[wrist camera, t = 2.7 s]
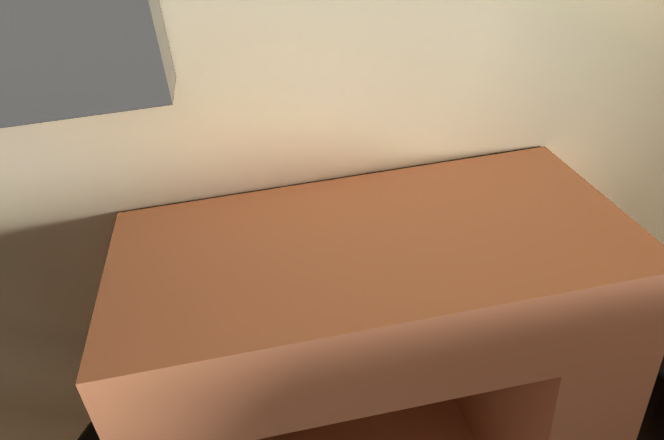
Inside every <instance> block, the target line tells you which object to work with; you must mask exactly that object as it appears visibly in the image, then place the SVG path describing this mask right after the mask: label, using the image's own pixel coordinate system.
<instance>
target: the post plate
mask: <svg viewBox="0 0 664 440" xmlns="http://www.w3.org/2000/svg"><path fill="white" fill-rule="evenodd" d="M175 82H176V74H175V69H174V65H173V61H172V56H171V52H170V47H169V43H168V38H167V34H166V29H165V25H164V20H163V16H162V11H161V7H160V2H159V0H0V128H5V127H12V126H20V125H27V124H34V123H42V122H49V121H57V120H64V119H71V118H79V117H86V116H93V115H101V114H108V113H115V112H123V111H130V110H138V109H145V108H152V107H160V106H167V105H173V98H174V90H175Z"/></svg>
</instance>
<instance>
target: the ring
mask: <svg viewBox="0 0 664 440" xmlns="http://www.w3.org/2000/svg"><path fill="white" fill-rule="evenodd" d="M663 356H664V245H663V244H661V243H660V242H659V241H658V240H657V239H655V238H654V237H653V236H652V235H651V234H649V233H648V232H647V231H646V230H645V229H643V228H642V227H641V226H640V225H639V224H637V223H636V222H635V221H634V220H633V219H631V218H630V217H629V216H628V215H627V214H625V213H624V212H623V211H622V210H621V209H619V208H618V207H617V206H616V205H615V204H613V203H612V202H611V201H610V200H609V199H607V198H606V197H605V196H604V195H603V194H601V193H600V192H599V191H598V190H597V189H595V188H594V187H593V186H592V185H591V184H589V183H588V182H587V181H586V180H585V179H583V178H582V177H581V176H580V175H579V174H577V173H576V172H575V171H574V170H573V169H571V168H570V167H569V166H568V165H567V164H565V163H564V162H563V161H562V160H560V159H559V158H558V157H557V156H556V155H554V154H553V153H552V152H551V151H550V150H548V149H547V148H546V147H538V148H532V149H525V150H519V151H513V152H506V153H500V154H493V155H487V156H480V157H474V158H468V159H461V160H455V161H448V162H442V163H435V164H429V165H423V166H416V167H410V168H403V169H397V170H390V171H384V172H378V173H371V174H365V175H358V176H352V177H345V178H339V179H333V180H326V181H320V182H313V183H307V184H300V185H294V186H287V187H281V188H275V189H268V190H262V191H255V192H249V193H242V194H236V195H230V196H223V197H217V198H210V199H204V200H197V201H191V202H185V203H178V204H172V205H165V206H159V207H152V208H146V209H140V210H133V211H127V212H120V213H117V218H116V222H115V226H114V230H113V234H112V238H111V242H110V246H109V250H108V254H107V258H106V262H105V266H104V270H103V274H102V278H101V282H100V286H99V290H98V294H97V299H96V303H95V307H94V311H93V315H92V319H91V323H90V327H89V331H88V335H87V339H86V343H85V347H84V351H83V355H82V359H81V363H80V367H79V371H78V376H77V380H76V384H75V385H76V388H77V390H78V392H79V394H80V396H81V399H82V401H83V403H84V405H85V407H86V410H87V412H88V414H89V416H90V419H91V421H92V423H93V425H94V427H95V430H96V432H97V434H98V436H99V439H100V440H636V439H637V436H638V433H639V430H640V427H641V424H642V421H643V418H644V415H645V412H646V409H647V406H648V402H649V399H650V396H651V393H652V390H653V387H654V384H655V381H656V378H657V375H658V372H659V369H660V365H661V362H662V359H663Z"/></svg>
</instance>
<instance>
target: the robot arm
mask: <svg viewBox="0 0 664 440" xmlns="http://www.w3.org/2000/svg"><path fill="white" fill-rule="evenodd" d="M78 440H100V439H99V436H98V434H97V432H96V430H95V427H94V425H93V423H92V421H91V422H90V423H89V424H88V425H87V427H86V428H85V430H84V431H83V433H82V434H81V435H80V437H79V438H78ZM636 440H664V356H663V359H662V362H661V365H660V369H659V372H658V375H657V378H656V381H655V384H654V387H653V390H652V393H651V396H650V399H649V402H648V406H647V409H646V412H645V415H644V418H643V421H642V424H641V427H640V430H639V433H638V436H637V439H636Z"/></svg>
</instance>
